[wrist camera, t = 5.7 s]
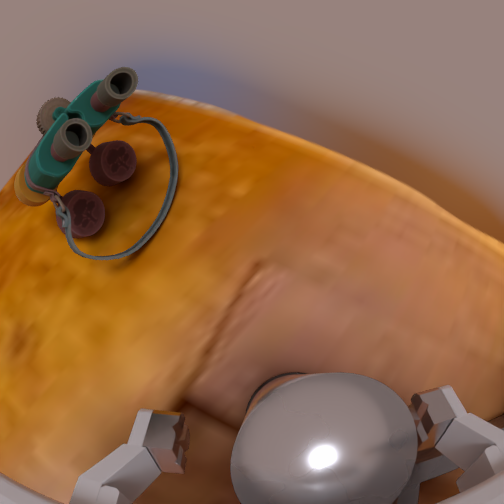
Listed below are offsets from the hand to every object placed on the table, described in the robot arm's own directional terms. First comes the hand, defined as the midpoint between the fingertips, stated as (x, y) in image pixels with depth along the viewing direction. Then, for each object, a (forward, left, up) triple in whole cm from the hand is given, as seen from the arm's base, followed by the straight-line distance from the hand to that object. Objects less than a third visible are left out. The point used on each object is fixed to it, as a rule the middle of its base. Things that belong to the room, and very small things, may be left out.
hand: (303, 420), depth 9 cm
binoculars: (+11, -12, -5) cm, 17 cm away
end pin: (0, +1, -5) cm, 5 cm away
